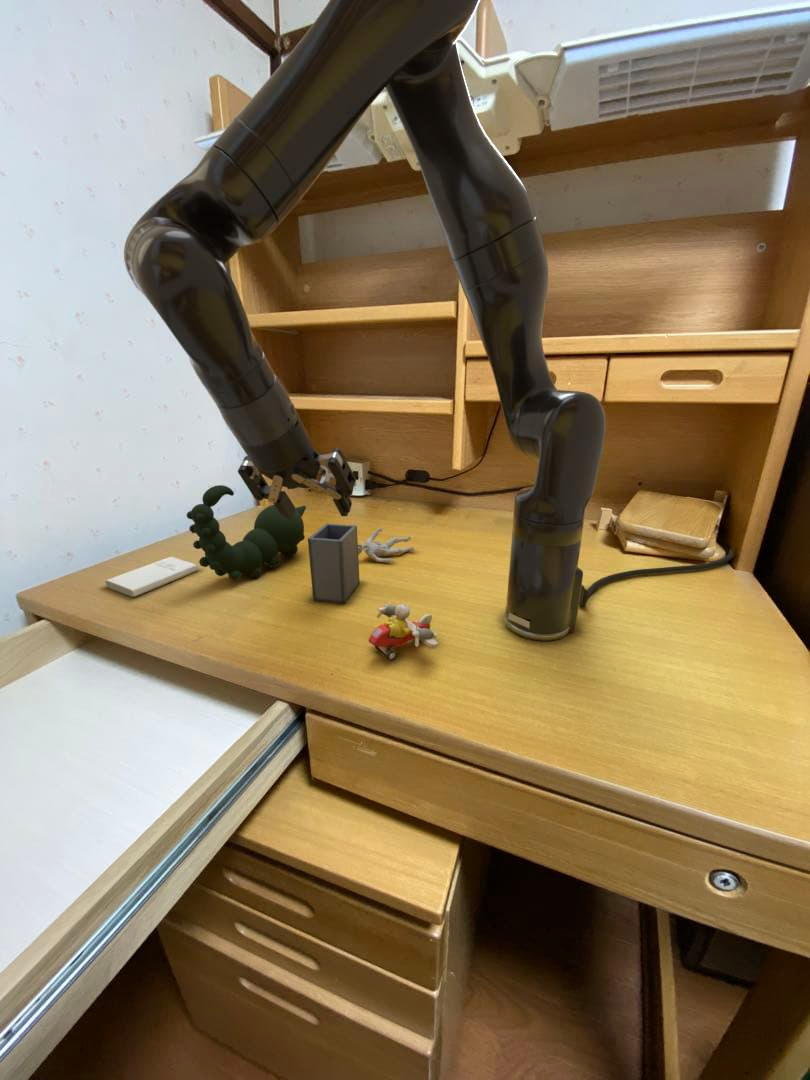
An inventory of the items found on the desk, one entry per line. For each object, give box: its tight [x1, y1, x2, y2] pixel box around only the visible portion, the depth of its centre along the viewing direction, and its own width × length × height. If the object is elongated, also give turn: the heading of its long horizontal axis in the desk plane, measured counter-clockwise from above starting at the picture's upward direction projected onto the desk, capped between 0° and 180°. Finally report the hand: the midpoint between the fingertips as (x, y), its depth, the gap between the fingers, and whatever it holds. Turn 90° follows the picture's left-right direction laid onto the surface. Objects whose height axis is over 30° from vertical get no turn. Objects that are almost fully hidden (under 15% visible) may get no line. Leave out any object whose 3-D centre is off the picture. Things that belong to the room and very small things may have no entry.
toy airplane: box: [368, 602, 439, 661], centre depth 63 cm, size 9×9×6 cm
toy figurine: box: [186, 484, 307, 582], centre depth 86 cm, size 9×19×25 cm
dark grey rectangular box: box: [307, 523, 361, 605], centre depth 77 cm, size 11×6×8 cm
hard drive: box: [105, 556, 198, 598], centre depth 84 cm, size 2×8×12 cm
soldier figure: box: [358, 526, 415, 563], centre depth 92 cm, size 8×5×12 cm
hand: (318, 513), depth 65 cm, fingers open, 8 cm apart
